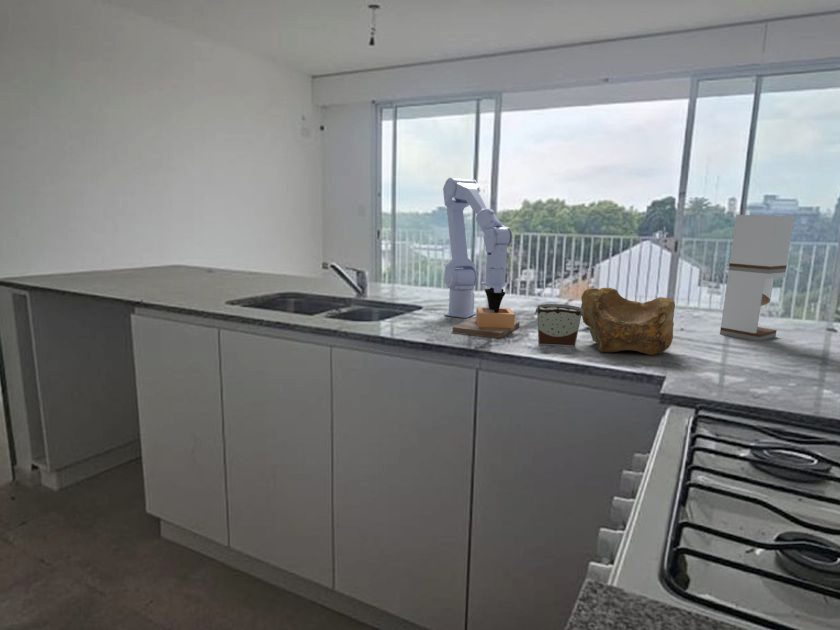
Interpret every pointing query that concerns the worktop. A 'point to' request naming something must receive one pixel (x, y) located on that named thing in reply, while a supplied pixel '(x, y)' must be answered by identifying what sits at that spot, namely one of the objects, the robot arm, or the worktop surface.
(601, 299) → the rough brown rock
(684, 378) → the worktop surface
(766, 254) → the white stacked pedestal
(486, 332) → the post base
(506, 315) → the shallow wooden tray
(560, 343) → the food container
